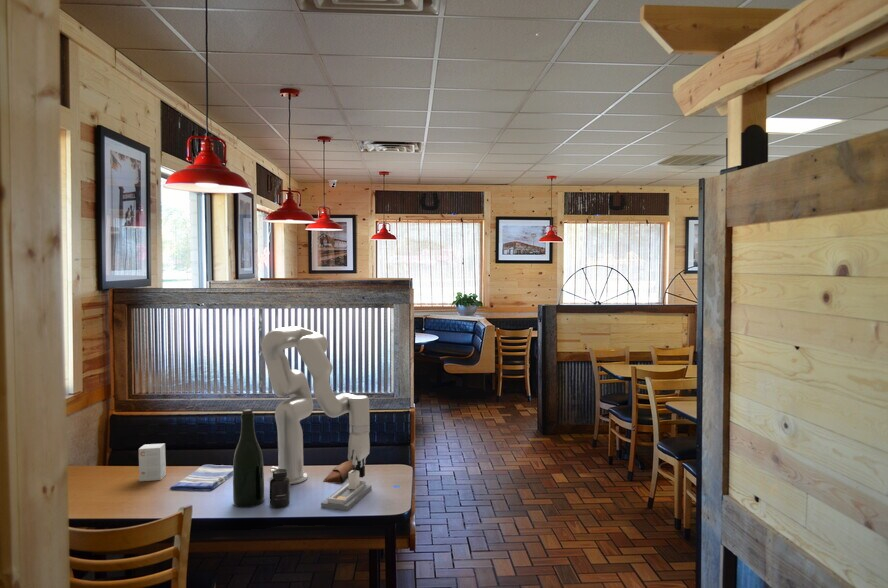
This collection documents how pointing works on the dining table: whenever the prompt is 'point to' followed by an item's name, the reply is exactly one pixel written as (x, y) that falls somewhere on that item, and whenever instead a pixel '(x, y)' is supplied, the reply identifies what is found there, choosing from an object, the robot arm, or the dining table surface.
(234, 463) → the beer bottle
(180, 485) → the dish towel
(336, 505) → the fader console
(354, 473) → the fader knob
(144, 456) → the small box
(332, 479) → the sunglasses case
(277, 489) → the supplement bottle
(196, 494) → the dining table surface
